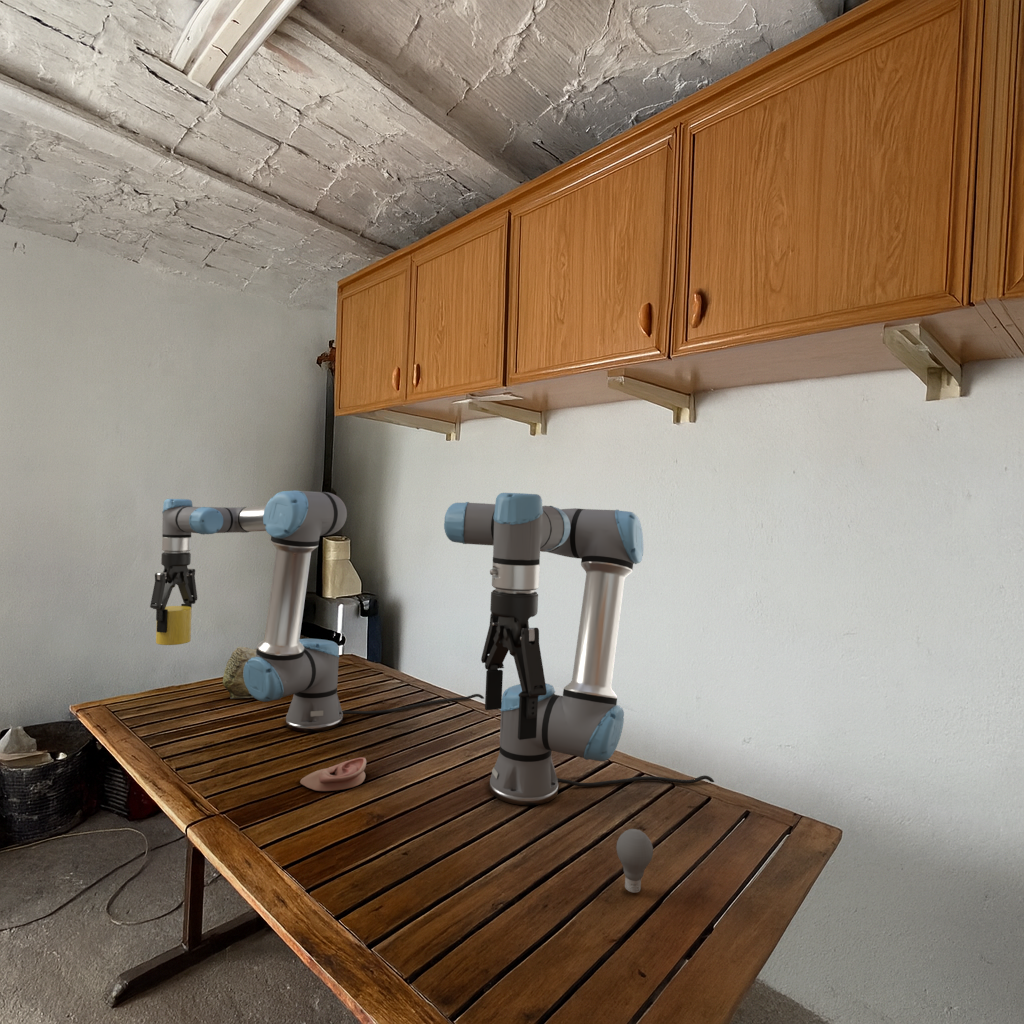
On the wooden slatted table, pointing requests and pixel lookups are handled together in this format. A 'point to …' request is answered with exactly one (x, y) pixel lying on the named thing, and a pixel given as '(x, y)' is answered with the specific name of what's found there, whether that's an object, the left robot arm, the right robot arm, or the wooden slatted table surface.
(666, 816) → the wooden slatted table surface
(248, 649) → the fossil
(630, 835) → the light bulb
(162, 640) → the canister
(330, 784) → the anatomical model
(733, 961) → the wooden slatted table surface
